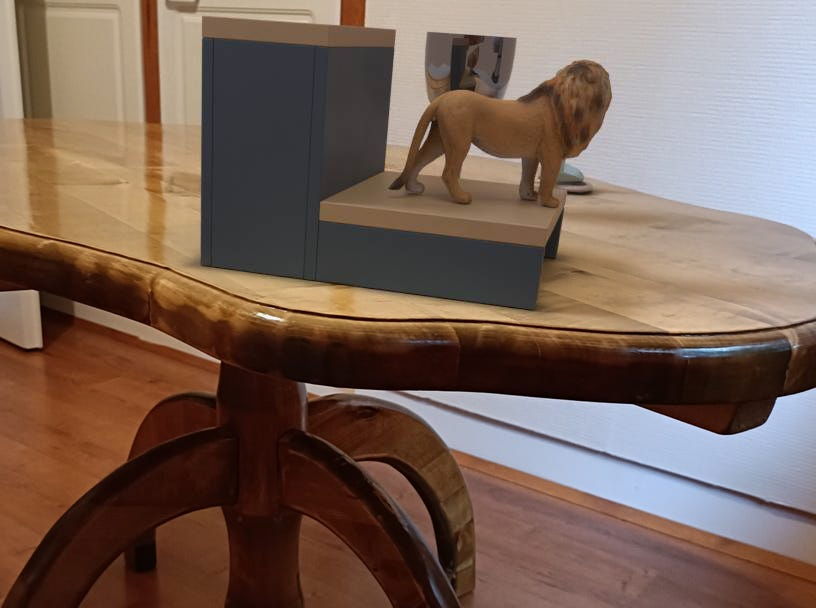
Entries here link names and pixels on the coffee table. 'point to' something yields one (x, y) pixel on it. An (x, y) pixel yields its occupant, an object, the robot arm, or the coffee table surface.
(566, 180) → the pacifier
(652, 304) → the coffee table surface
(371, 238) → the two-step block
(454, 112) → the lion figurine
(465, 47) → the wine glass
